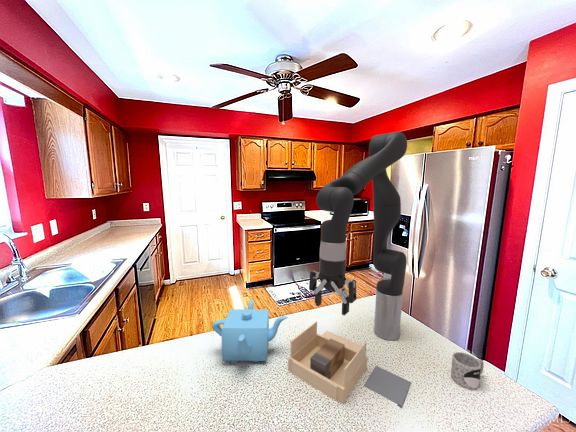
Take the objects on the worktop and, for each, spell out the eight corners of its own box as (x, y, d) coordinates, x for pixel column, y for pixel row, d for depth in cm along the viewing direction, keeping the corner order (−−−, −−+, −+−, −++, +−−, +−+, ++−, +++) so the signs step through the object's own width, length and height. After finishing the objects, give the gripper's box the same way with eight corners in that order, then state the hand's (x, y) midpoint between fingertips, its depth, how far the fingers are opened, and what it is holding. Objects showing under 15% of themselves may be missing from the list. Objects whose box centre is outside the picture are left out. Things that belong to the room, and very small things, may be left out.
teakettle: (208, 353, 80) (207, 312, 79) (252, 330, 94) (252, 294, 92) (242, 385, 67) (242, 336, 66) (287, 353, 81) (288, 312, 79)
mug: (466, 392, 66) (469, 370, 66) (445, 374, 73) (447, 354, 72) (493, 385, 69) (495, 363, 68) (470, 368, 75) (472, 348, 75)
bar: (329, 355, 80) (330, 338, 79) (343, 362, 77) (344, 344, 76) (309, 376, 70) (310, 357, 70) (324, 385, 67) (325, 365, 67)
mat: (375, 367, 75) (375, 365, 75) (410, 383, 69) (410, 381, 69) (363, 387, 67) (363, 385, 67) (401, 407, 61) (401, 405, 61)
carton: (322, 340, 89) (323, 315, 88) (371, 362, 77) (372, 335, 76) (287, 372, 73) (287, 342, 72) (342, 406, 61) (344, 372, 60)
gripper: (361, 258, 68) (359, 312, 70) (318, 249, 76) (317, 298, 78) (350, 264, 62) (348, 323, 64) (305, 254, 71) (304, 306, 72)
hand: (331, 309), depth 71 cm, fingers open, 8 cm apart
